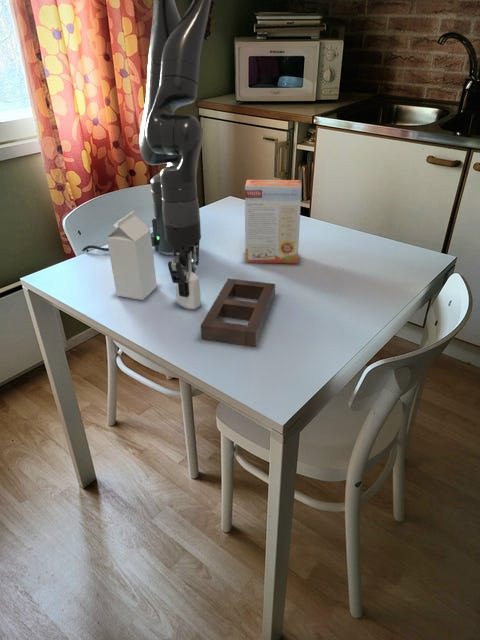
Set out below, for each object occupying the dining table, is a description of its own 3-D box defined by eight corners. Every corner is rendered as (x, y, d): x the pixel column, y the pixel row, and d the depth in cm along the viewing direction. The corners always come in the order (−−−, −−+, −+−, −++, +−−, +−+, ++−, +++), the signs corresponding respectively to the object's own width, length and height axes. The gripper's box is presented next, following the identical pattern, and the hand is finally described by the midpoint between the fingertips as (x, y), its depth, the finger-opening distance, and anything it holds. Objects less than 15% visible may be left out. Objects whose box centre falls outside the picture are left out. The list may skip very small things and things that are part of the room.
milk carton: (157, 286, 118) (148, 212, 107) (143, 301, 112) (132, 223, 102) (131, 282, 120) (120, 209, 109) (116, 296, 114) (103, 220, 104)
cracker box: (297, 255, 132) (302, 179, 121) (297, 264, 127) (302, 186, 116) (246, 253, 133) (246, 177, 122) (244, 263, 128) (244, 185, 117)
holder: (201, 339, 99) (200, 325, 97) (228, 291, 116) (227, 278, 114) (255, 347, 96) (255, 332, 94) (274, 296, 113) (275, 283, 111)
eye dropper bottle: (184, 312, 107) (180, 264, 101) (175, 301, 112) (171, 254, 105) (202, 308, 109) (199, 260, 103) (193, 297, 113) (189, 250, 107)
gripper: (176, 205, 106) (182, 275, 115) (151, 230, 94) (160, 305, 103) (209, 208, 104) (212, 278, 113) (187, 233, 92) (193, 309, 102)
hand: (187, 290), depth 108 cm, fingers closed on eye dropper bottle, 4 cm apart
